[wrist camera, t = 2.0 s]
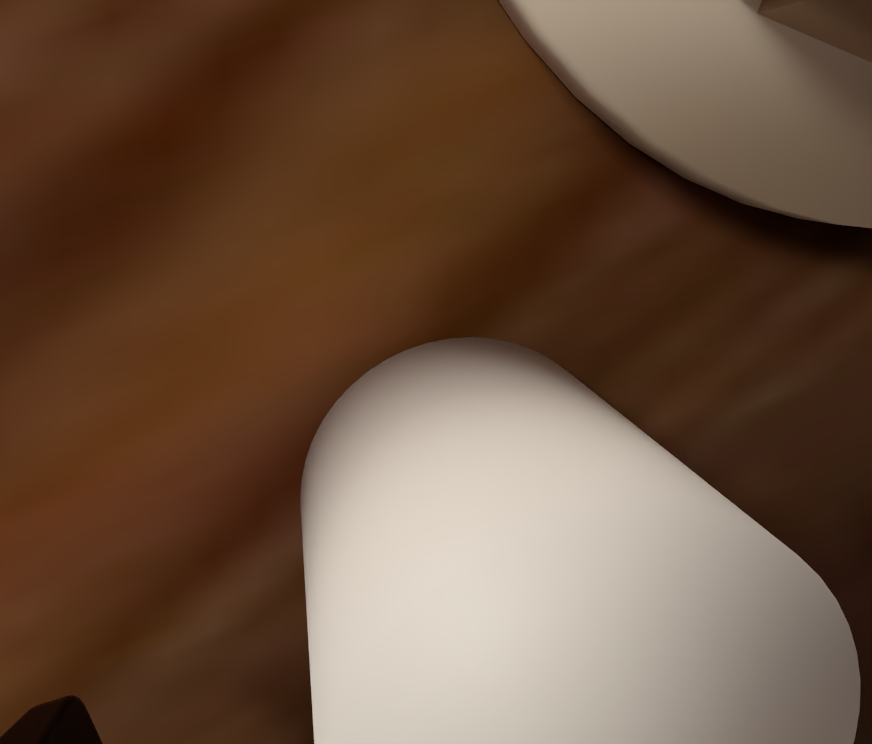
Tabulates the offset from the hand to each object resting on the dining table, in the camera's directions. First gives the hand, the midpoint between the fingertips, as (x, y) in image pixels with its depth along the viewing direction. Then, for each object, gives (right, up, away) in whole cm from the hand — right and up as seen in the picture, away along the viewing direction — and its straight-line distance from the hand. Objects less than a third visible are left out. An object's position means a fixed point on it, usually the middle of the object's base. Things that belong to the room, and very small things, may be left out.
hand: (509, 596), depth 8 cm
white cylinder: (0, +1, +2) cm, 3 cm away
